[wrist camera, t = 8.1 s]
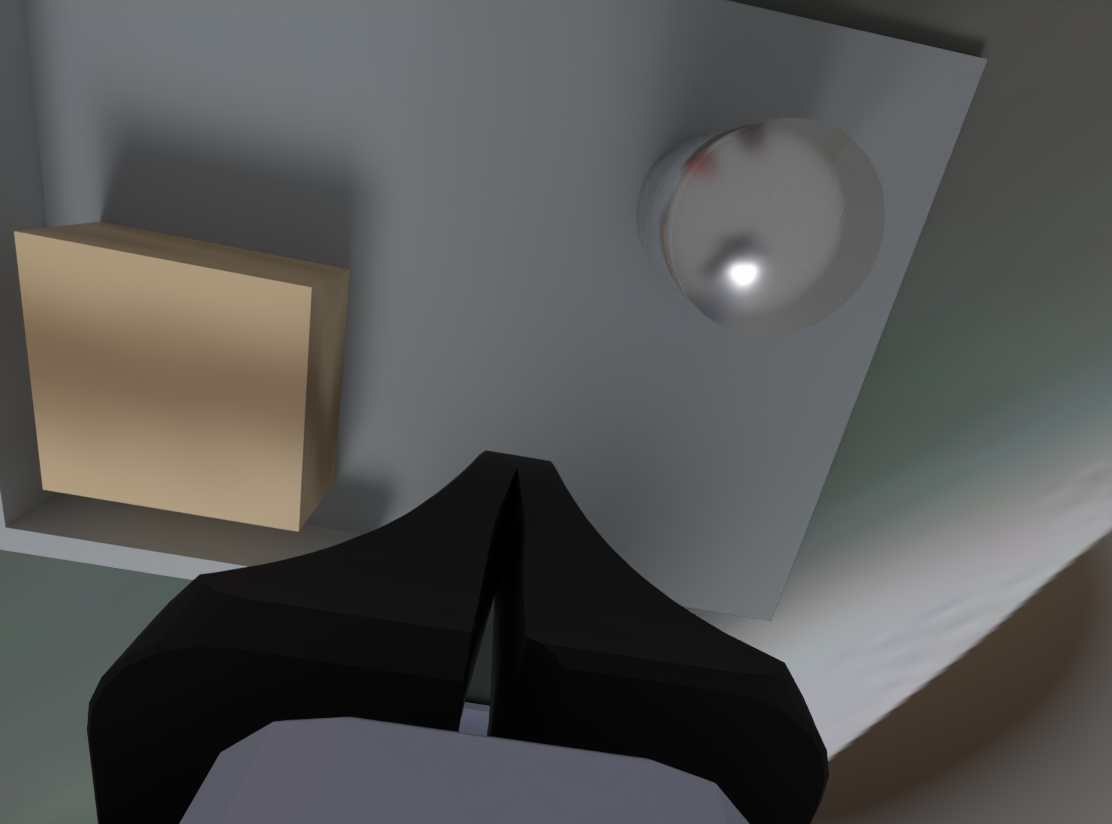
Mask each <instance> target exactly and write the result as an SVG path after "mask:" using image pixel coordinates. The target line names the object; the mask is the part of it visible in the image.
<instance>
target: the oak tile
mask: <svg viewBox="0 0 1112 824" xmlns="http://www.w3.org/2000/svg"><path fill="white" fill-rule="evenodd" d="M14 236H15V245H16V254H17V263H18V272H19V281H20V290H21V299H22V308H23V317H24V326H25V335H26V343H27V352H28V361H29V370H30V379H31V388H32V397H33V406H34V415H35V424H36V433H37V442H38V451H39V460H40V469H41V478H42V487H43V490H48V491H54V492H60V493H66V494H72V495H78V496H84V497H91V498H97V499H103V500H109V501H115V502H121V503H127V504H133V505H139V506H145V507H151V508H157V509H163V510H169V511H175V512H182V513H188V514H194V515H200V516H206V517H212V518H218V519H224V520H230V521H236V522H242V523H248V524H254V525H260V526H266V527H272V528H279V529H285V530H291V531H297V532H299V531H300V529H301V528H302V527H303V525H304V524H305V523H306V521H307V520H308V518H309V517H310V516H311V514H312V513H313V511H314V510H315V509H316V507H317V506H318V504H319V503H320V502H321V500H322V499H323V498H324V496H325V495H326V493H327V492H328V491H329V489H330V488H331V486H332V485H333V484H334V479H335V465H336V451H337V438H338V424H339V411H340V397H341V384H342V370H343V357H344V343H345V330H346V316H347V303H348V289H349V276H350V269H345V268H340V267H335V266H330V265H324V264H319V263H314V262H309V261H303V260H298V259H293V258H288V257H283V256H277V255H272V254H267V253H262V252H257V251H251V250H246V249H241V248H236V247H230V246H225V245H220V244H215V243H210V242H204V241H199V240H194V239H189V238H183V237H178V236H173V235H168V234H163V233H157V232H152V231H147V230H142V229H137V228H131V227H126V226H121V225H116V224H110V223H105V222H91V223H82V224H73V225H64V226H55V227H46V228H38V229H29V230H20V231H14Z"/></svg>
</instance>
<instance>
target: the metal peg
mask: <svg viewBox="0 0 1112 824" xmlns="http://www.w3.org/2000/svg"><path fill="white" fill-rule="evenodd" d="M636 224H637V231H638V236H639V239H640V242H641V245H642V247H643V249H644V251H645V253H646V255H647V256H648V258H649V259H650V260H651V262H652V263H653V264H654V265H655V266H656V267H657V268H658V269H659V270H660V271H661V272H662V273H663V274H664V275H665V276H666V277H667V278H668V279H669V280H670V281H671V282H672V283H673V284H674V285H675V286H676V287H677V288H678V289H679V290H680V291H681V292H682V293H683V294H684V295H685V296H686V297H687V298H688V299H689V300H690V301H691V302H692V303H693V304H694V305H695V306H696V307H697V308H698V309H699V310H700V311H701V312H702V313H703V314H704V315H706V316H707V317H708V318H709V319H711V320H712V321H714V322H715V323H717V324H719V325H720V326H722V327H724V328H727V329H729V330H731V331H734V332H737V333H741V334H745V335H751V336H759V337H762V336H780V335H786V334H790V333H794V332H798V331H801V330H803V329H806V328H808V327H811V326H813V325H815V324H817V323H819V322H821V321H822V320H824V319H826V318H827V317H829V316H830V315H832V314H833V313H834V312H836V311H837V310H838V309H839V308H840V307H842V306H843V305H844V304H845V303H846V302H847V301H848V300H849V299H850V298H851V297H852V296H853V295H854V294H855V293H856V291H857V290H858V289H859V287H860V286H861V285H862V283H863V282H864V281H865V279H866V277H867V275H868V274H869V272H870V270H871V268H872V266H873V264H874V262H875V260H876V257H877V255H878V252H879V249H880V245H881V242H882V238H883V232H884V226H885V203H884V195H883V190H882V186H881V182H880V180H879V177H878V174H877V172H876V169H875V168H874V166H873V164H872V162H871V161H870V159H869V157H868V156H867V155H866V153H865V152H864V151H863V150H862V148H861V147H860V146H859V145H858V144H857V143H856V142H855V141H854V140H852V139H851V138H850V137H849V136H847V135H846V134H844V133H843V132H842V131H840V130H838V129H836V128H834V127H832V126H830V125H828V124H825V123H822V122H819V121H815V120H811V119H804V118H779V119H772V120H767V121H763V122H759V123H754V124H750V125H746V126H742V127H738V128H734V129H729V130H725V131H721V132H717V133H713V134H709V135H704V136H700V137H697V138H693V139H690V140H687V141H685V142H683V143H681V144H679V145H677V146H676V147H674V148H672V149H671V150H670V151H668V152H667V153H666V154H665V155H663V157H662V158H661V159H660V160H659V161H658V162H657V163H656V164H655V165H654V167H653V168H652V169H651V171H650V172H649V174H648V176H647V177H646V179H645V181H644V183H643V186H642V188H641V191H640V194H639V198H638V202H637V209H636Z"/></svg>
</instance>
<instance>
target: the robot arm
mask: <svg viewBox="0 0 1112 824" xmlns="http://www.w3.org/2000/svg"><path fill="white" fill-rule="evenodd" d="M494 595H495V598H494ZM493 599H494V622H493V646H492V672H491V697H490V706H488V705H481V704H475V703H468V702H465V700H466V695H467V692H468V688H469V685H470V681H471V678H472V674H473V670H474V667H475V663H476V660H477V656H478V653H479V649H480V645H481V642H482V638H483V635H484V631H485V627H486V624H487V620H488V617H489V613H490V609H491V606H492V602H493ZM87 734H88V742H89V751H90V759H91V768H92V776H93V784H94V793H95V801H96V810H97V818H98V824H811V822H812V820H813V818H814V816H815V814H816V812H817V809H818V807H819V805H820V803H821V801H822V798H823V794H824V791H825V788H826V784H827V781H828V777H829V771H828V759H827V750H826V748H825V746H824V743H823V741H822V739H821V737H820V735H819V732H818V730H817V728H816V726H815V723H814V721H813V718H812V716H811V714H810V711H809V709H808V707H807V705H806V702H805V700H804V698H803V696H802V694H801V692H800V690H799V688H798V686H797V685H796V683H795V681H794V679H793V677H792V675H791V673H790V672H789V670H788V668H787V666H786V664H785V663H784V662H782V661H780V660H778V659H776V658H774V657H772V656H770V655H768V654H766V653H764V652H762V651H760V650H758V649H756V648H754V647H752V646H750V645H748V644H746V643H744V642H742V641H740V640H738V639H736V638H734V637H732V636H730V635H728V634H726V633H724V632H722V631H721V630H719V629H717V628H716V627H714V626H712V625H711V624H709V623H707V622H706V621H704V620H703V619H701V618H699V617H698V616H696V615H694V614H693V613H691V612H690V611H688V610H687V609H685V608H684V607H682V606H681V605H679V604H678V603H676V602H675V601H673V600H672V599H671V598H669V597H668V596H667V595H665V594H664V593H663V592H661V591H660V590H659V589H658V588H656V587H655V586H654V585H652V584H651V583H650V582H648V581H647V580H646V579H645V578H644V577H642V576H641V575H640V574H639V573H638V572H637V571H635V570H634V569H633V568H632V567H631V566H630V565H629V564H628V563H627V562H626V561H625V560H624V559H623V558H622V557H621V556H620V555H619V554H618V553H616V552H615V551H614V550H613V549H612V547H611V546H610V545H609V544H608V543H607V542H606V541H605V540H604V539H603V538H602V536H601V535H600V534H599V533H598V531H597V530H596V529H595V528H594V527H593V525H592V524H591V523H590V522H589V521H588V519H587V518H586V516H585V515H584V513H583V512H582V511H581V509H580V508H579V506H578V505H577V503H576V502H575V500H574V499H573V497H572V495H571V494H570V492H569V491H568V489H567V487H566V485H565V484H564V482H563V480H562V478H561V477H560V475H559V473H558V471H557V469H556V467H555V466H554V465H553V463H552V462H551V461H548V460H542V459H536V458H530V457H524V456H518V455H512V454H506V453H500V452H494V451H488V450H485V451H484V452H482V453H481V454H479V455H478V456H477V458H476V459H475V460H474V461H473V462H472V463H471V464H470V465H469V466H468V467H467V468H466V469H465V470H464V471H462V472H461V473H460V474H459V475H458V476H457V477H456V478H454V479H453V480H452V481H451V482H450V483H448V484H447V485H446V486H445V487H444V488H442V489H441V490H440V491H439V492H437V493H436V494H435V495H433V496H432V497H430V498H429V499H427V500H426V501H425V502H423V503H422V504H420V505H419V506H417V507H416V508H415V509H413V510H411V511H410V512H408V513H407V514H405V515H403V516H402V517H400V518H398V519H396V520H394V521H392V522H390V523H388V524H386V525H384V526H382V527H380V528H378V529H375V530H373V531H370V532H368V533H365V534H363V535H360V536H358V537H355V538H353V539H350V540H347V541H345V542H342V543H340V544H337V545H334V546H331V547H328V548H325V549H322V550H318V551H315V552H312V553H308V554H304V555H300V556H296V557H293V558H289V559H285V560H280V561H276V562H271V563H267V564H261V565H255V566H249V567H243V568H237V569H232V570H226V571H220V572H214V573H206V574H199V575H198V576H197V577H196V578H195V579H194V580H193V581H192V582H191V583H190V584H189V585H188V586H187V587H185V588H184V589H183V590H182V591H181V592H180V593H179V594H178V595H177V596H176V597H175V598H174V599H172V600H171V601H170V602H169V603H168V604H167V605H166V606H165V608H164V609H163V610H162V611H161V612H160V613H159V614H158V615H157V616H156V617H155V618H154V619H153V620H152V621H151V622H150V624H149V625H148V626H147V627H146V628H145V629H144V630H143V631H142V633H141V634H140V635H139V636H138V637H137V638H136V639H135V640H134V642H133V643H132V644H131V645H130V646H129V647H128V648H127V649H126V650H125V652H124V653H123V654H122V655H121V656H120V657H119V658H118V659H117V661H116V662H115V663H114V664H113V665H112V666H111V667H110V668H109V670H108V671H107V672H106V673H105V674H104V675H103V676H102V677H101V680H100V682H99V684H98V686H97V688H96V690H95V692H94V694H93V696H92V698H91V700H90V702H89V710H88V725H87Z"/></svg>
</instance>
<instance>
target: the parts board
mask: <svg viewBox="0 0 1112 824" xmlns="http://www.w3.org/2000/svg"><path fill="white" fill-rule="evenodd" d="M987 60H988V59H984V58H980V57H975V56H971V55H967V54H962V53H958V52H953V51H949V50H945V49H940V48H936V47H931V46H927V45H923V44H918V43H914V42H909V41H905V40H900V39H896V38H892V37H887V36H883V35H878V34H874V33H870V32H865V31H861V30H856V29H852V28H848V27H843V26H839V25H834V24H830V23H825V22H821V21H817V20H812V19H808V18H803V17H799V16H795V15H790V14H786V13H781V12H777V11H773V10H768V9H764V8H759V7H755V6H750V5H746V4H742V3H737V2H733V1H728V0H0V549H1V550H7V551H14V552H20V553H26V554H33V555H39V556H45V557H52V558H58V559H64V560H71V561H77V562H83V563H89V564H96V565H102V566H108V567H115V568H121V569H127V570H134V571H140V572H146V573H153V574H159V575H165V576H171V577H178V578H184V579H190V580H194V579H195V578H196V577H197V576H198V575H199V574H206V573H214V572H220V571H226V570H232V569H237V568H243V567H249V566H255V565H261V564H267V563H271V562H276V561H280V560H285V559H289V558H293V557H296V556H300V555H304V554H308V553H312V552H315V551H318V550H322V549H325V548H328V547H331V546H334V545H337V544H340V543H342V542H345V541H347V540H350V539H353V538H355V537H358V536H360V535H363V534H365V533H368V532H370V531H373V530H375V529H378V528H380V527H382V526H384V525H386V524H388V523H390V522H392V521H394V520H396V519H398V518H400V517H402V516H403V515H405V514H407V513H408V512H410V511H411V510H413V509H415V508H416V507H417V506H419V505H420V504H422V503H423V502H425V501H426V500H427V499H429V498H430V497H432V496H433V495H435V494H436V493H437V492H439V491H440V490H441V489H442V488H444V487H445V486H446V485H447V484H448V483H450V482H451V481H452V480H453V479H454V478H456V477H457V476H458V475H459V474H460V473H461V472H462V471H464V470H465V469H466V468H467V467H468V466H469V465H470V464H471V463H472V462H473V461H474V460H475V459H476V458H477V456H478V455H479V454H481V453H482V452H484V451H485V450H488V451H494V452H500V453H506V454H512V455H518V456H524V457H530V458H536V459H542V460H548V461H551V462H552V463H553V465H554V466H555V467H556V469H557V471H558V473H559V475H560V477H561V478H562V480H563V482H564V484H565V485H566V487H567V489H568V491H569V492H570V494H571V495H572V497H573V499H574V500H575V502H576V503H577V505H578V506H579V508H580V509H581V511H582V512H583V513H584V515H585V516H586V518H587V519H588V521H589V522H590V523H591V524H592V525H593V527H594V528H595V529H596V530H597V531H598V533H599V534H600V535H601V536H602V538H603V539H604V540H605V541H606V542H607V543H608V544H609V545H610V546H611V547H612V549H613V550H614V551H615V552H616V553H618V554H619V555H620V556H621V557H622V558H623V559H624V560H625V561H626V562H627V563H628V564H629V565H630V566H631V567H632V568H633V569H634V570H635V571H637V572H638V573H639V574H640V575H641V576H642V577H644V578H645V579H646V580H647V581H648V582H650V583H651V584H652V585H654V586H655V587H656V588H658V589H659V590H660V591H661V592H663V593H664V594H665V595H667V596H668V597H669V598H671V599H672V600H673V601H675V602H676V603H678V604H679V605H681V606H682V607H688V608H694V609H700V610H706V611H712V612H718V613H724V614H731V615H737V616H743V617H749V618H755V619H761V620H767V621H771V620H772V617H773V615H774V612H775V610H776V607H777V604H778V602H779V599H780V597H781V594H782V591H783V589H784V586H785V584H786V581H787V578H788V576H789V573H790V571H791V568H792V565H793V563H794V560H795V558H796V555H797V553H798V550H799V547H800V545H801V542H802V540H803V537H804V534H805V532H806V529H807V527H808V524H809V521H810V519H811V516H812V514H813V511H814V508H815V506H816V503H817V501H818V498H819V495H820V493H821V490H822V488H823V485H824V482H825V480H826V477H827V475H828V472H829V470H830V467H831V464H832V462H833V459H834V457H835V454H836V451H837V449H838V446H839V444H840V441H841V438H842V436H843V433H844V431H845V428H846V425H847V423H848V420H849V418H850V415H851V412H852V410H853V407H854V405H855V402H856V399H857V397H858V394H859V392H860V389H861V387H862V384H863V381H864V379H865V376H866V374H867V371H868V368H869V366H870V363H871V361H872V358H873V355H874V353H875V350H876V348H877V345H878V342H879V340H880V337H881V335H882V332H883V329H884V327H885V324H886V322H887V319H888V316H889V314H890V311H891V309H892V306H893V304H894V301H895V298H896V296H897V293H898V291H899V288H900V285H901V283H902V280H903V278H904V275H905V272H906V270H907V267H908V265H909V262H910V259H911V257H912V254H913V252H914V249H915V246H916V244H917V241H918V239H919V236H920V234H921V231H922V228H923V226H924V223H925V221H926V218H927V215H928V213H929V210H930V208H931V205H932V202H933V200H934V197H935V195H936V192H937V189H938V187H939V184H940V182H941V179H942V176H943V174H944V171H945V169H946V166H947V163H948V161H949V158H950V156H951V153H952V151H953V148H954V145H955V143H956V140H957V138H958V135H959V132H960V130H961V127H962V125H963V122H964V119H965V117H966V114H967V112H968V109H969V106H970V104H971V101H972V99H973V96H974V93H975V91H976V88H977V86H978V83H979V80H980V78H981V75H982V73H983V70H984V68H985V65H986V62H987ZM779 118H804V119H811V120H815V121H819V122H822V123H825V124H828V125H830V126H832V127H834V128H836V129H838V130H840V131H842V132H843V133H844V134H846V135H847V136H849V137H850V138H851V139H852V140H854V141H855V142H856V143H857V144H858V145H859V146H860V147H861V148H862V150H863V151H864V152H865V153H866V155H867V156H868V157H869V159H870V161H871V162H872V164H873V166H874V168H875V169H876V172H877V174H878V177H879V180H880V182H881V186H882V190H883V195H884V203H885V226H884V232H883V238H882V242H881V245H880V249H879V252H878V255H877V257H876V260H875V262H874V264H873V266H872V268H871V270H870V272H869V274H868V275H867V277H866V279H865V281H864V282H863V283H862V285H861V286H860V287H859V289H858V290H857V291H856V293H855V294H854V295H853V296H852V297H851V298H850V299H849V300H848V301H847V302H846V303H845V304H844V305H843V306H842V307H840V308H839V309H838V310H837V311H836V312H834V313H833V314H832V315H830V316H829V317H827V318H826V319H824V320H822V321H821V322H819V323H817V324H815V325H813V326H811V327H808V328H806V329H803V330H801V331H798V332H794V333H790V334H786V335H780V336H762V337H759V336H751V335H745V334H741V333H737V332H734V331H731V330H729V329H727V328H724V327H722V326H720V325H719V324H717V323H715V322H714V321H712V320H711V319H709V318H708V317H707V316H706V315H704V314H703V313H702V312H701V311H700V310H699V309H698V308H697V307H696V306H695V305H694V304H693V303H692V302H691V301H690V300H689V299H688V298H687V297H686V296H685V295H684V294H683V293H682V292H681V291H680V290H679V289H678V288H677V287H676V286H675V285H674V284H673V283H672V282H671V281H670V280H669V279H668V278H667V277H666V276H665V275H664V274H663V273H662V272H661V271H660V270H659V269H658V268H657V267H656V266H655V265H654V264H653V263H652V262H651V260H650V259H649V258H648V256H647V255H646V253H645V251H644V249H643V247H642V245H641V242H640V239H639V236H638V231H637V224H636V209H637V202H638V198H639V194H640V191H641V188H642V186H643V183H644V181H645V179H646V177H647V176H648V174H649V172H650V171H651V169H652V168H653V167H654V165H655V164H656V163H657V162H658V161H659V160H660V159H661V158H662V157H663V155H665V154H666V153H667V152H668V151H670V150H671V149H672V148H674V147H676V146H677V145H679V144H681V143H683V142H685V141H687V140H690V139H693V138H697V137H700V136H704V135H709V134H713V133H717V132H721V131H725V130H729V129H734V128H738V127H742V126H746V125H750V124H754V123H759V122H763V121H767V120H772V119H779ZM91 222H105V223H110V224H116V225H121V226H126V227H131V228H137V229H142V230H147V231H152V232H157V233H163V234H168V235H173V236H178V237H183V238H189V239H194V240H199V241H204V242H210V243H215V244H220V245H225V246H230V247H236V248H241V249H246V250H251V251H257V252H262V253H267V254H272V255H277V256H283V257H288V258H293V259H298V260H303V261H309V262H314V263H319V264H324V265H330V266H335V267H340V268H345V269H350V276H349V289H348V303H347V316H346V330H345V343H344V357H343V370H342V384H341V397H340V411H339V424H338V438H337V451H336V465H335V479H334V484H333V485H332V486H331V488H330V489H329V491H328V492H327V493H326V495H325V496H324V498H323V499H322V500H321V502H320V503H319V504H318V506H317V507H316V509H315V510H314V511H313V513H312V514H311V516H310V517H309V518H308V520H307V521H306V523H305V524H304V525H303V527H302V528H301V529H300V531H299V532H297V531H291V530H285V529H279V528H272V527H266V526H260V525H254V524H248V523H242V522H236V521H230V520H224V519H218V518H212V517H206V516H200V515H194V514H188V513H182V512H175V511H169V510H163V509H157V508H151V507H145V506H139V505H133V504H127V503H121V502H115V501H109V500H103V499H97V498H91V497H84V496H78V495H72V494H66V493H60V492H54V491H48V490H43V487H42V478H41V469H40V460H39V451H38V442H37V433H36V424H35V415H34V406H33V397H32V388H31V379H30V370H29V361H28V352H27V343H26V335H25V326H24V317H23V308H22V299H21V290H20V281H19V272H18V263H17V254H16V245H15V236H14V231H20V230H29V229H38V228H46V227H55V226H64V225H73V224H82V223H91Z"/></svg>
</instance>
